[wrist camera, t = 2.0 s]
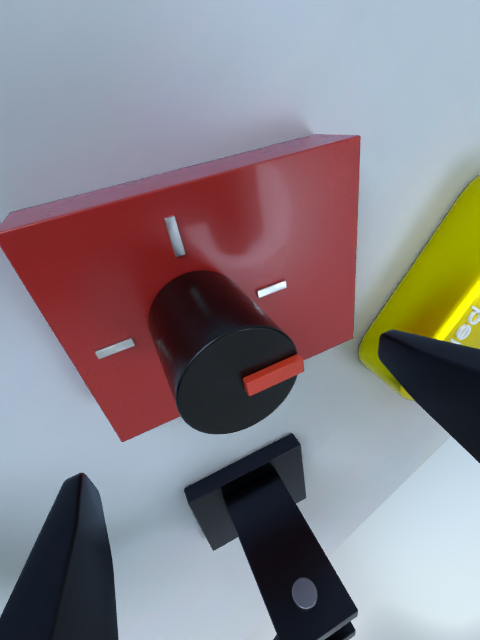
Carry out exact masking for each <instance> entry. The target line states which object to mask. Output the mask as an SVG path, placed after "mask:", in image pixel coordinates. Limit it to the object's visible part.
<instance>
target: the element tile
mask: <svg viewBox="0 0 480 640" xmlns="http://www.w3.org/2000/svg"><path fill="white" fill-rule="evenodd" d="M389 330H398V331H403V332H407V333H411V334H416V335H420V336H425V337H429V338H433V339H438V340H442V341H447V342H451V343H455V344H460V345H464V346H469V347H473V348H477V349H480V175H479V176H477V177H476V178H475V179H474V180H473V181H472V182H471V183H470V184H469V185H468V186H467V187H466V188H465V189H464V191H463V192H462V193H461V194H460V196H459V197H458V199H457V200H456V202H455V203H454V205H453V206H452V208H451V209H450V211H449V212H448V213H447V215H446V216H445V218H444V219H443V221H442V222H441V224H440V225H439V227H438V228H437V230H436V231H435V233H434V234H433V235H432V237H431V238H430V240H429V241H428V243H427V244H426V246H425V247H424V249H423V250H422V252H421V253H420V255H419V256H418V257H417V259H416V260H415V262H414V263H413V265H412V266H411V268H410V269H409V271H408V272H407V274H406V275H405V276H404V278H403V279H402V281H401V282H400V284H399V285H398V287H397V288H396V290H395V291H394V293H393V294H392V296H391V297H390V298H389V300H388V301H387V303H386V304H385V306H384V307H383V309H382V310H381V312H380V313H379V315H378V316H377V318H376V319H375V320H374V322H373V323H372V325H371V326H370V328H369V329H368V331H367V332H366V334H365V335H364V337H363V339H362V341H361V344H360V347H359V350H358V352H359V359H360V361H361V362H362V364H363V365H364V366H365V367H367V368H368V369H369V370H370V371H371V372H373V373H374V374H375V375H376V376H377V377H379V378H380V379H381V380H382V381H383V382H385V383H386V384H387V385H388V386H390V387H391V388H392V389H393V390H394V391H396V392H397V393H398V394H399V395H400V396H402V397H403V398H405V399H408V400H412V401H415V400H414V399H413V398H412V397H411V396H410V395H409V394H408V393H407V392H406V390H405V389H404V388H403V387H402V386H401V385H400V383H399V382H398V381H397V380H396V379H395V378H394V376H393V375H392V374H391V373H390V372H389V371H388V369H387V368H386V367H385V366H384V365H383V364H382V362H381V361H380V359H379V357H378V344H379V337H380V335H381V334H382V333H384V332H386V331H389Z"/></svg>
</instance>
